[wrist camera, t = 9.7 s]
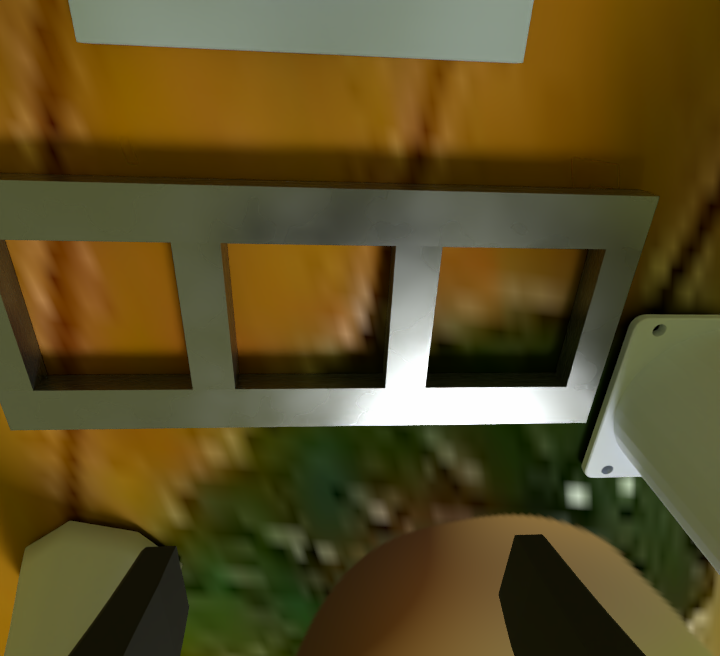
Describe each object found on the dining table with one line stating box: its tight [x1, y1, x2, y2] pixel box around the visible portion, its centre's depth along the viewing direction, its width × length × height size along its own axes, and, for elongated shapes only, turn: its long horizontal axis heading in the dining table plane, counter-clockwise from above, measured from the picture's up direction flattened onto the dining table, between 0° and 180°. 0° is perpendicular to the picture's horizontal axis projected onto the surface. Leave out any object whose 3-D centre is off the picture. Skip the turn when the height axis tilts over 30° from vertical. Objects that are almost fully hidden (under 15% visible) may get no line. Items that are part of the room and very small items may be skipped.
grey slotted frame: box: [0, 173, 659, 430], centre depth 17 cm, size 22×9×1 cm, turn 88°
